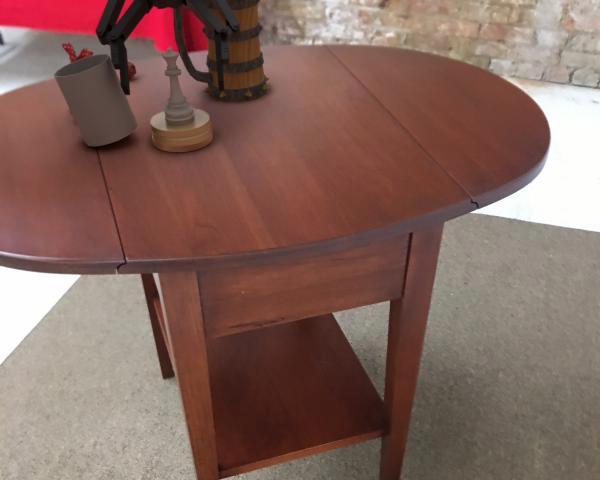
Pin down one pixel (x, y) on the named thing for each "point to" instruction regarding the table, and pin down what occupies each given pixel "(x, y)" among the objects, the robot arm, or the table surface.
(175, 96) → the chess piece
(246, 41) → the mug
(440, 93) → the table surface
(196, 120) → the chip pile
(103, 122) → the cup
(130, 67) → the die
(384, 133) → the table surface
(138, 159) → the table surface
